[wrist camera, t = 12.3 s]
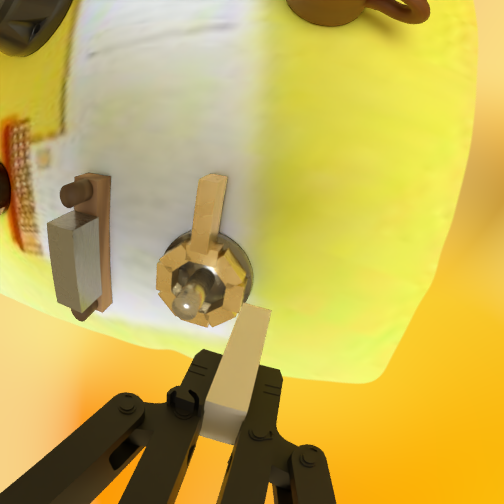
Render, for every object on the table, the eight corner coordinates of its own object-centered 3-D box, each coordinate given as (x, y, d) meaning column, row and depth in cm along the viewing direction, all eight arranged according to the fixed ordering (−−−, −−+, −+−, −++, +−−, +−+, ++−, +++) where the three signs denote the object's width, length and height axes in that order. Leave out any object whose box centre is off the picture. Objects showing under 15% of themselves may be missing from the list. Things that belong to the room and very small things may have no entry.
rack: (92, 294, 37) (69, 316, 32) (88, 172, 30) (56, 182, 25) (112, 302, 37) (90, 325, 32) (110, 176, 30) (79, 187, 25)
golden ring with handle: (163, 302, 33) (151, 317, 30) (174, 166, 27) (158, 171, 24) (238, 324, 32) (231, 342, 30) (267, 185, 26) (262, 192, 23)
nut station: (163, 298, 35) (136, 332, 28) (168, 220, 30) (135, 244, 24) (243, 321, 34) (230, 363, 27) (261, 242, 30) (249, 275, 23)
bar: (102, 293, 33) (81, 313, 29) (78, 284, 33) (57, 302, 29) (98, 217, 29) (72, 231, 25) (73, 210, 29) (46, 223, 25)
